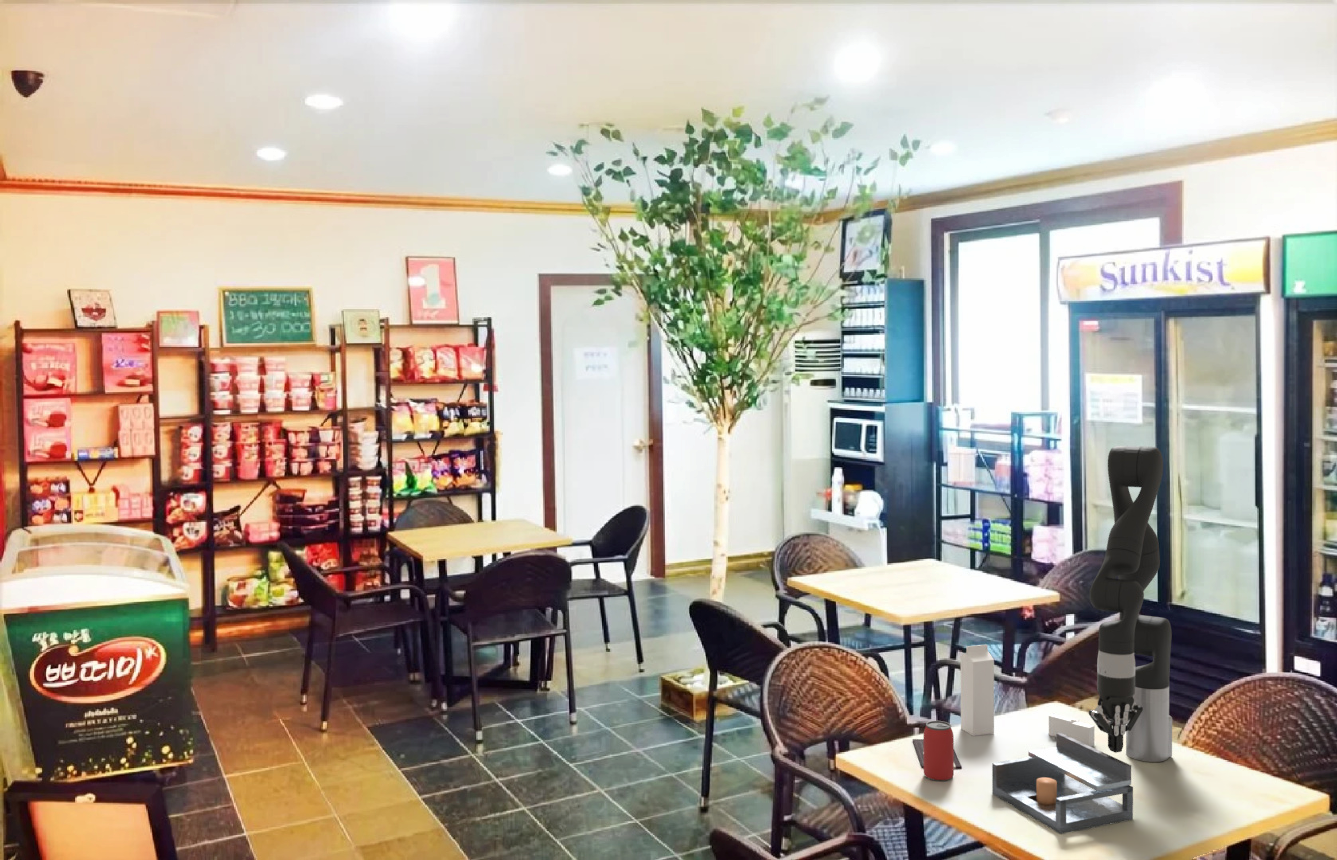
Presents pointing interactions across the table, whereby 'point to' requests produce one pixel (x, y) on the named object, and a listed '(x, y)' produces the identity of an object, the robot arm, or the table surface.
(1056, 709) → the table surface
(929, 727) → the beer can
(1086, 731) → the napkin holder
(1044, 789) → the rounded orange stub
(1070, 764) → the cover
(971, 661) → the milk
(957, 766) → the chocolate bar
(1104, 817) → the housing
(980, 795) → the table surface
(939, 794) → the table surface
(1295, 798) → the table surface
